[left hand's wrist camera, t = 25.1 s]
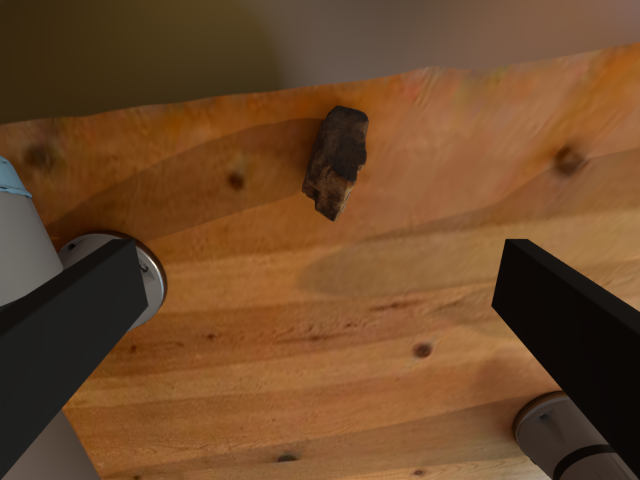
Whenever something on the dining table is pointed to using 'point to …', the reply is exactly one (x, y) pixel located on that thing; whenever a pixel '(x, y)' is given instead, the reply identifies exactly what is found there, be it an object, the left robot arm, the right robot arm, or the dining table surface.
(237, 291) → the dining table surface
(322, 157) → the decorative rock
